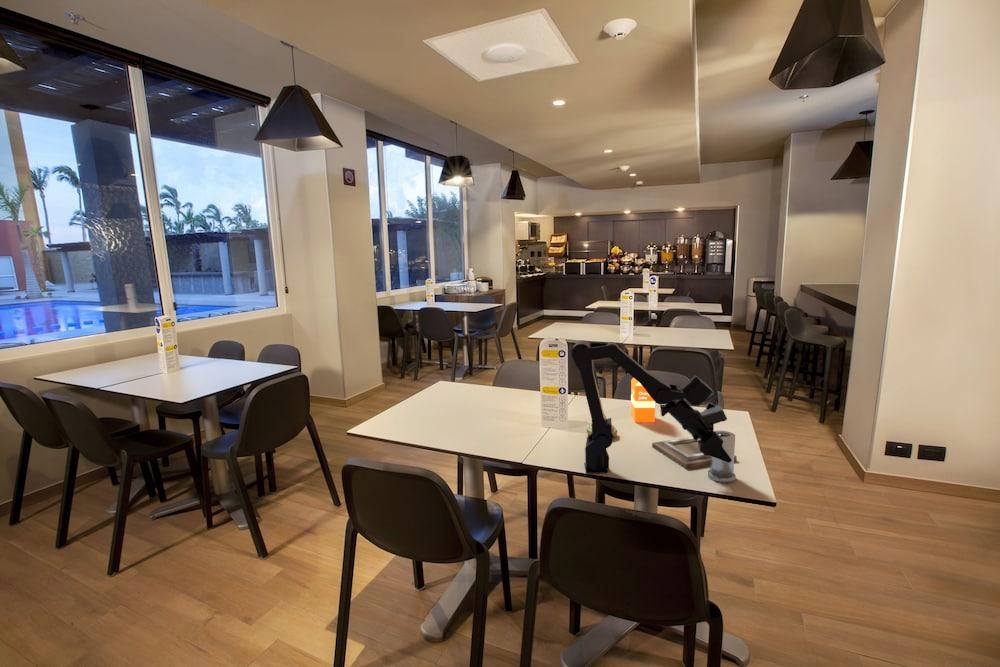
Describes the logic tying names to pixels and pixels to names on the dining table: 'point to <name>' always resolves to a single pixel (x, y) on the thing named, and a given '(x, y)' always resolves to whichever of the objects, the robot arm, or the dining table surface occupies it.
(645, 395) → the orange juice
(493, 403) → the dining table surface
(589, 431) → the decorated donut
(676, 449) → the bronze base
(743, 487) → the dining table surface
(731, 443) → the silver metal cup
